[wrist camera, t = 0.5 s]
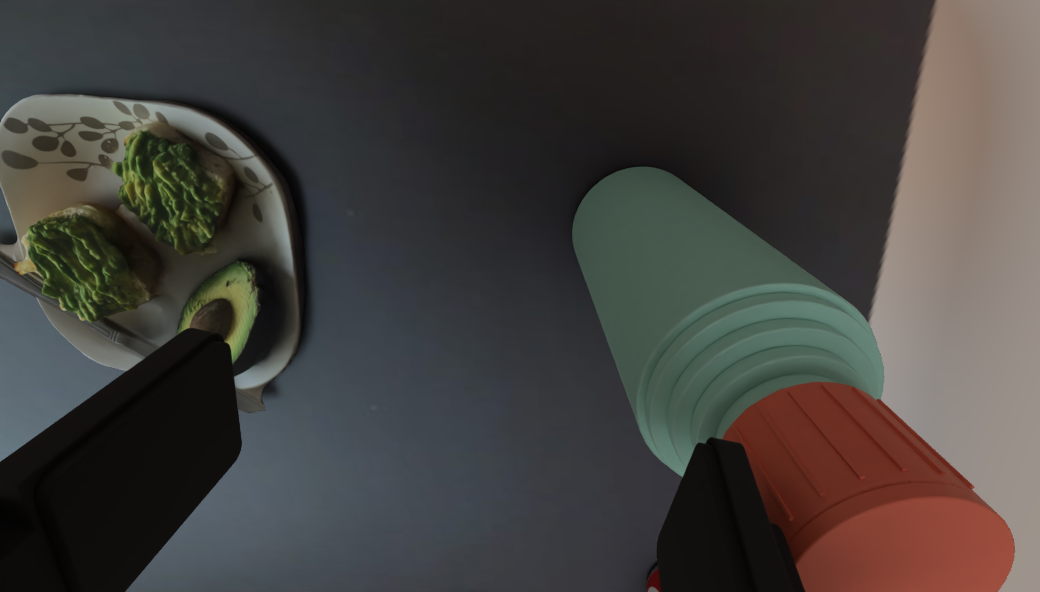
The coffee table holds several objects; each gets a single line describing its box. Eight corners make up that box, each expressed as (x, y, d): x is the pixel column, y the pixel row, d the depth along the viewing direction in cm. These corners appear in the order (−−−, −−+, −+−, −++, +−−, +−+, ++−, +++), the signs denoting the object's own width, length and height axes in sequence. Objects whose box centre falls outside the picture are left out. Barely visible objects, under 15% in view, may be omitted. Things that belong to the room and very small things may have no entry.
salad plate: (34, 357, 35) (-40, 397, 31) (-56, 65, 28) (-171, 66, 24) (317, 405, 34) (279, 454, 30) (302, 115, 27) (249, 126, 23)
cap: (742, 369, 11) (830, 486, 8) (921, 388, 11) (1068, 506, 8) (690, 510, 13) (748, 650, 10) (848, 522, 13) (950, 660, 10)
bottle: (585, 157, 25) (768, 395, 8) (715, 175, 26) (1151, 433, 8) (562, 281, 28) (661, 661, 11) (680, 295, 28) (959, 677, 11)
